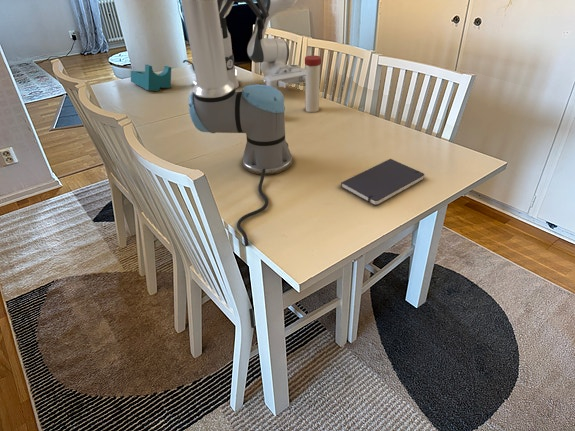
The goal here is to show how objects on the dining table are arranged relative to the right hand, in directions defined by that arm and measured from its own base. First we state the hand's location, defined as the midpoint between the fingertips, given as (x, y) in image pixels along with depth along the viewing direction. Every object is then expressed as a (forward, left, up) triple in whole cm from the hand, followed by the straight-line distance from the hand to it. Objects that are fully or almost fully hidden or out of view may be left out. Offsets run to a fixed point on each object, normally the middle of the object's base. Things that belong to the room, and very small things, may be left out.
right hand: (242, 38), depth 147 cm
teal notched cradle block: (+42, +41, -27) cm, 65 cm away
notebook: (-66, -32, -27) cm, 78 cm away
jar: (-6, -25, -27) cm, 37 cm away
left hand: (+7, -21, -20) cm, 30 cm away
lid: (-6, -25, -7) cm, 27 cm away
